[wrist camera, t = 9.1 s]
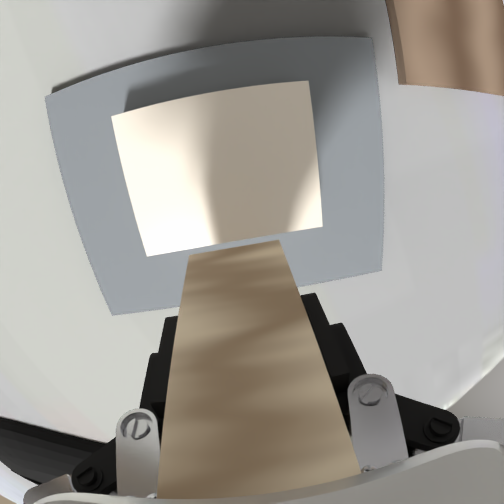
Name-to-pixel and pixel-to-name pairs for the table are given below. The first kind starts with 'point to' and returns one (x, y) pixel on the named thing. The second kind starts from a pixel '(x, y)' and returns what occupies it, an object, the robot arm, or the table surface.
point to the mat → (211, 80)
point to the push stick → (248, 385)
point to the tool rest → (449, 43)
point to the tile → (221, 166)
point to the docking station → (41, 451)
